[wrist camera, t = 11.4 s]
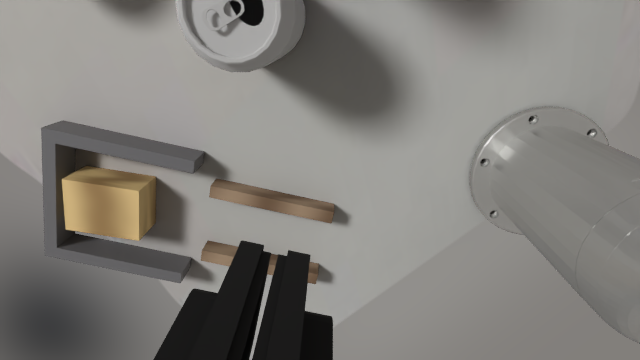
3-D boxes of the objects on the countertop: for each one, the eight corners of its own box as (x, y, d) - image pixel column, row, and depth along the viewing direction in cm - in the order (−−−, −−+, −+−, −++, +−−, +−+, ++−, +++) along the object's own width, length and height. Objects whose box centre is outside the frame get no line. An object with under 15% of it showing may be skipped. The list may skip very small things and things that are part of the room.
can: (321, 35, 35) (315, 38, 24) (247, 75, 36) (209, 96, 25) (279, -52, 33) (251, -93, 22) (202, -5, 34) (138, -22, 23)
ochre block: (156, 176, 40) (138, 191, 37) (156, 221, 42) (139, 240, 38) (86, 165, 40) (61, 179, 36) (89, 211, 42) (65, 229, 38)
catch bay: (204, 151, 39) (194, 161, 36) (190, 266, 44) (180, 283, 41) (62, 120, 38) (41, 127, 36) (63, 240, 43) (44, 255, 40)
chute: (334, 204, 41) (334, 212, 39) (316, 273, 43) (315, 284, 42) (216, 178, 40) (210, 185, 38) (206, 250, 43) (200, 260, 41)
